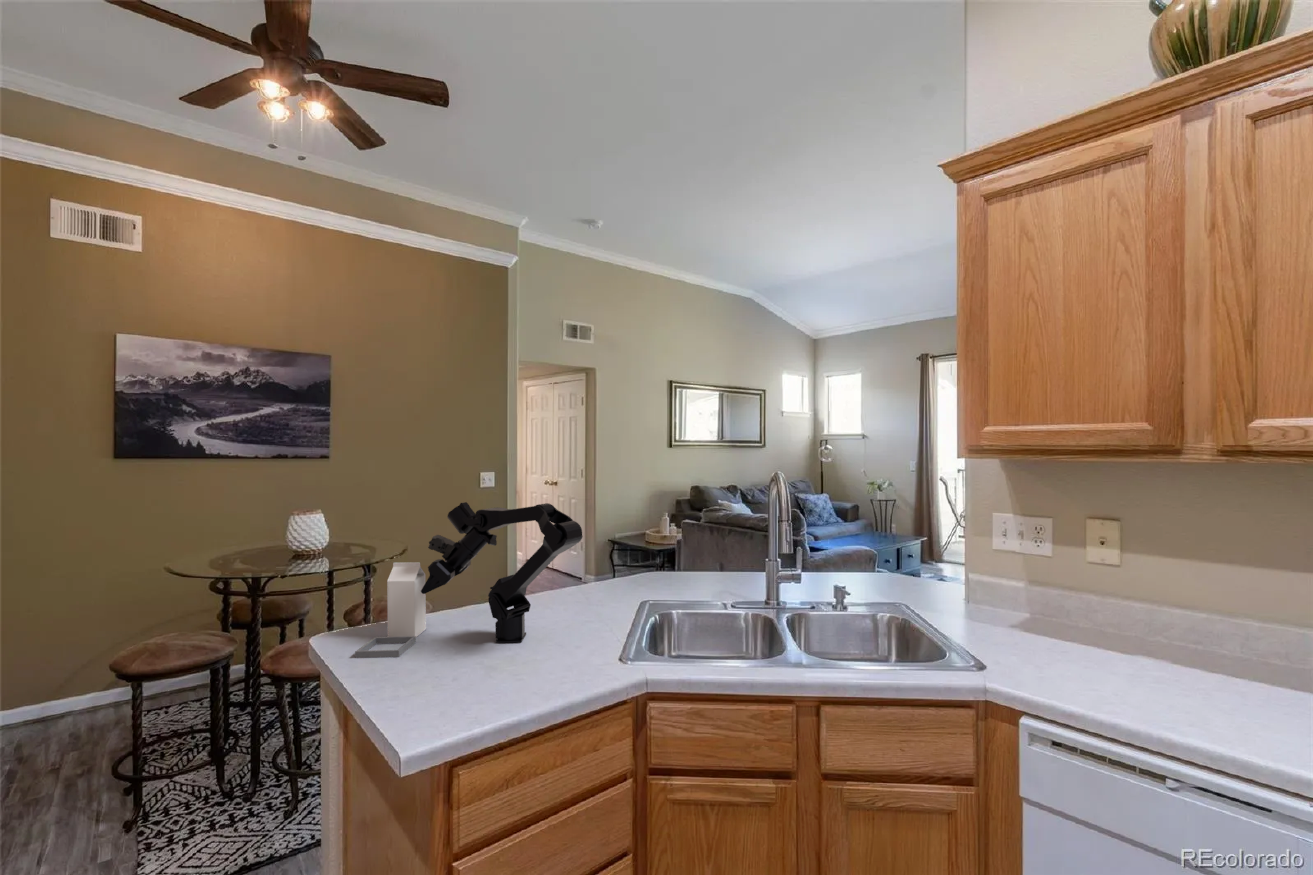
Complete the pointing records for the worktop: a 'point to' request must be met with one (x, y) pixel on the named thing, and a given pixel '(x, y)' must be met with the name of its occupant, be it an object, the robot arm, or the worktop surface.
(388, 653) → the drip tray
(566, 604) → the worktop surface
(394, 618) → the milk carton
